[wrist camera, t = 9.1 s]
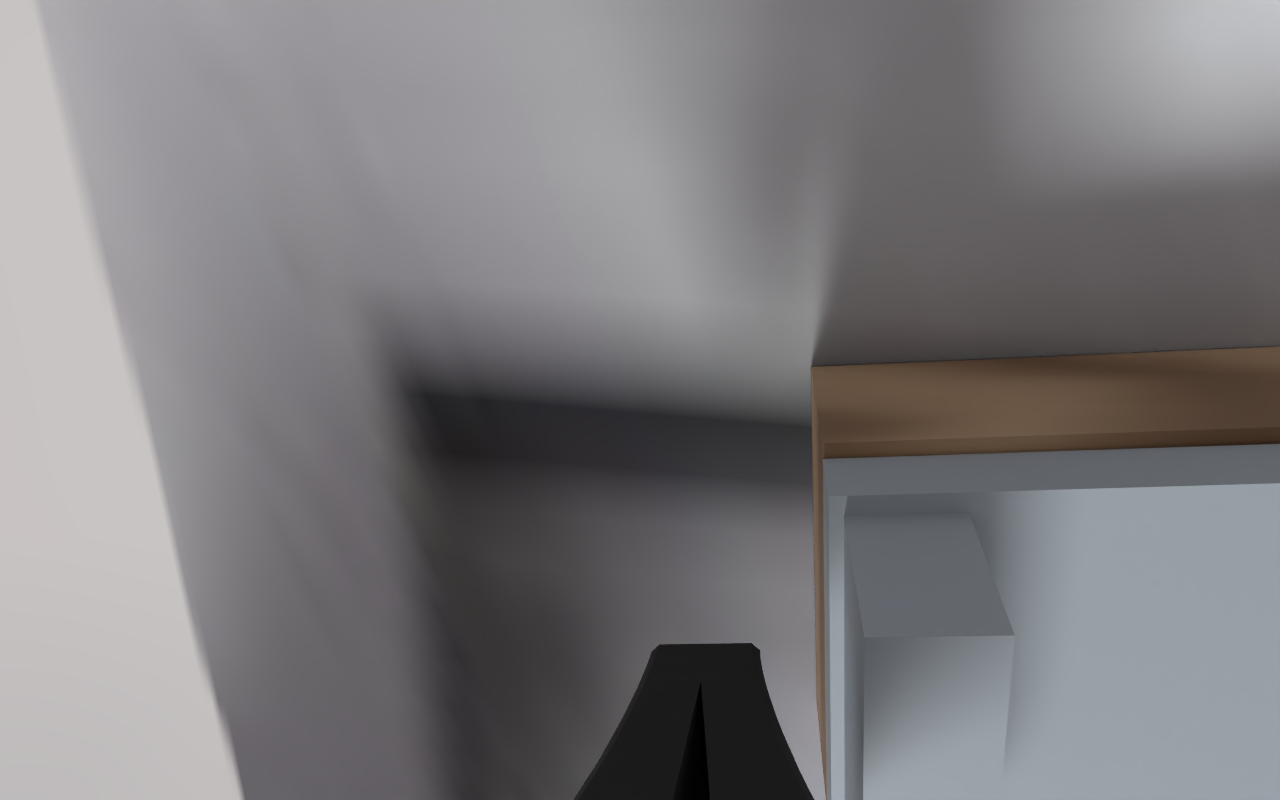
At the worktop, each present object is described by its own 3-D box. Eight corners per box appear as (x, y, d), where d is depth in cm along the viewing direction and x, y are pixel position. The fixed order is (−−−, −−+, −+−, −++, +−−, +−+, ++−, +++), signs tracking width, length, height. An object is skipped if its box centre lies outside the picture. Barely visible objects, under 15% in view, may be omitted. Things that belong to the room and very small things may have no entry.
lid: (827, 803, 17) (846, 1005, 14) (822, 458, 14) (846, 616, 11) (1477, 807, 16) (1657, 1028, 13) (1612, 432, 13) (1885, 599, 10)
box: (816, 700, 20) (826, 807, 17) (810, 366, 17) (821, 442, 14) (1378, 696, 19) (1469, 811, 16) (1480, 337, 16) (1612, 415, 13)
